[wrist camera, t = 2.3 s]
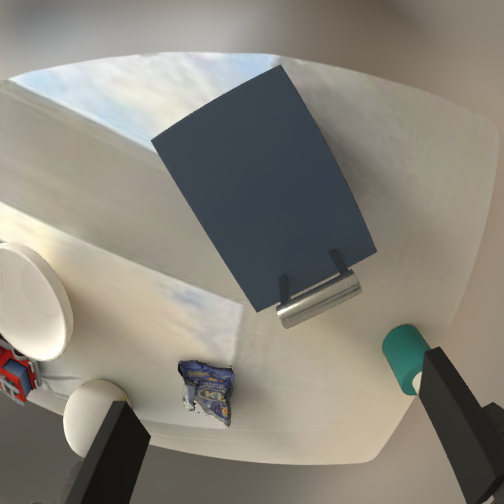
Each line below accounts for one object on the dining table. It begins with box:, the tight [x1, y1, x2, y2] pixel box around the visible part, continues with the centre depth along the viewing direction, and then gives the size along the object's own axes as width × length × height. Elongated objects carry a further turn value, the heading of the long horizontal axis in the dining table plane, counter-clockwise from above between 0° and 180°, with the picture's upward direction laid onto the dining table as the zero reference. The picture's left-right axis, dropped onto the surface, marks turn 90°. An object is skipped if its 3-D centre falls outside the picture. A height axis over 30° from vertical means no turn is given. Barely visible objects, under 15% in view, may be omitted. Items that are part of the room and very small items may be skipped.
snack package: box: [178, 360, 234, 427], centre depth 44 cm, size 12×6×12 cm
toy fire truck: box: [0, 339, 42, 406], centre depth 43 cm, size 9×19×10 cm, turn 75°
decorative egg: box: [63, 380, 133, 458], centre depth 42 cm, size 12×12×15 cm
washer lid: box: [151, 65, 377, 329], centre depth 22 cm, size 18×13×8 cm
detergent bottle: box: [382, 325, 431, 395], centre depth 37 cm, size 6×6×11 cm
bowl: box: [0, 242, 73, 362], centre depth 38 cm, size 20×20×7 cm
